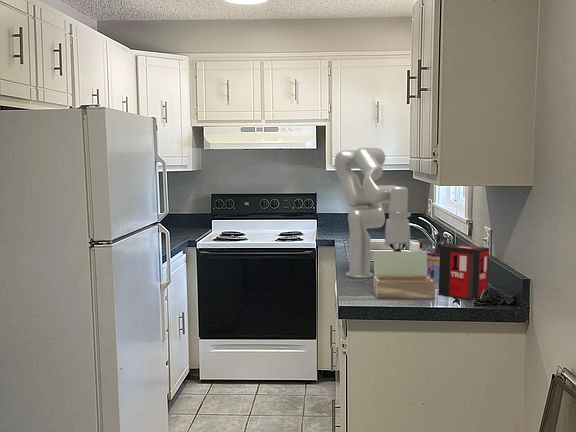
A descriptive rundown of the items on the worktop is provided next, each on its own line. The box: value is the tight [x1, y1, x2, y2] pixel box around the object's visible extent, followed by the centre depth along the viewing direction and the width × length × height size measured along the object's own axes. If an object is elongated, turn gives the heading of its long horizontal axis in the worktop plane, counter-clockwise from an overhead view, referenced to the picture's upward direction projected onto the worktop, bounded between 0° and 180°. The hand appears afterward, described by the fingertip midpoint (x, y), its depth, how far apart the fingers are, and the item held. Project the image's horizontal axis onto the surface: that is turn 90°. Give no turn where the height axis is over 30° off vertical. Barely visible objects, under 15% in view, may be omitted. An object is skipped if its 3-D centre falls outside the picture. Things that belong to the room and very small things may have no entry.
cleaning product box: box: [438, 243, 490, 301], centre depth 242 cm, size 16×9×20 cm, turn 48°
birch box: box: [372, 275, 435, 300], centre depth 242 cm, size 10×22×7 cm, turn 91°
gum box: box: [427, 252, 440, 290], centre depth 260 cm, size 24×8×14 cm, turn 49°
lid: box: [373, 251, 428, 276], centre depth 247 cm, size 10×22×1 cm
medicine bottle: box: [406, 241, 426, 252], centre depth 313 cm, size 7×7×12 cm
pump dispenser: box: [432, 239, 449, 254], centre depth 296 cm, size 10×10×15 cm
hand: (397, 259), depth 255 cm, fingers closed
